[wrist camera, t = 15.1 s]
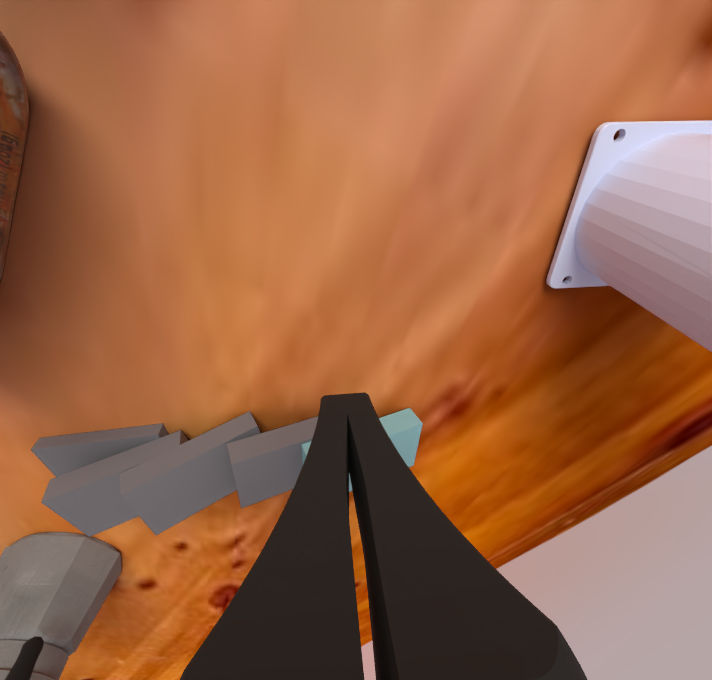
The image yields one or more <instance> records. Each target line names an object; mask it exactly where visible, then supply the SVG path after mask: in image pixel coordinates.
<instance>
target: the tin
mask: <svg viewBox="0 0 712 680" xmlns="http://www.w3.org/2000/svg"><path fill="white" fill-rule="evenodd" d="M28 121H29V103H28V94H27V87H26V83H25V79H24V75H23V72H22V69H21V66H20V64H19V61H18V59H17V57H16V55H15V53H14V51H13V49H12V47H11V46H10V44H9V42H8V41H7V39H6V38H5V36H4V35H3V34H2V32H1V31H0V280H1V278H2V274H3V269H4V264H5V258H6V251H7V246H8V240H9V234H10V228H11V222H12V216H13V209H14V204H15V198H16V192H17V187H18V183H19V176H20V170H21V164H22V159H23V153H24V147H25V141H26V136H27V129H28Z"/></svg>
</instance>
